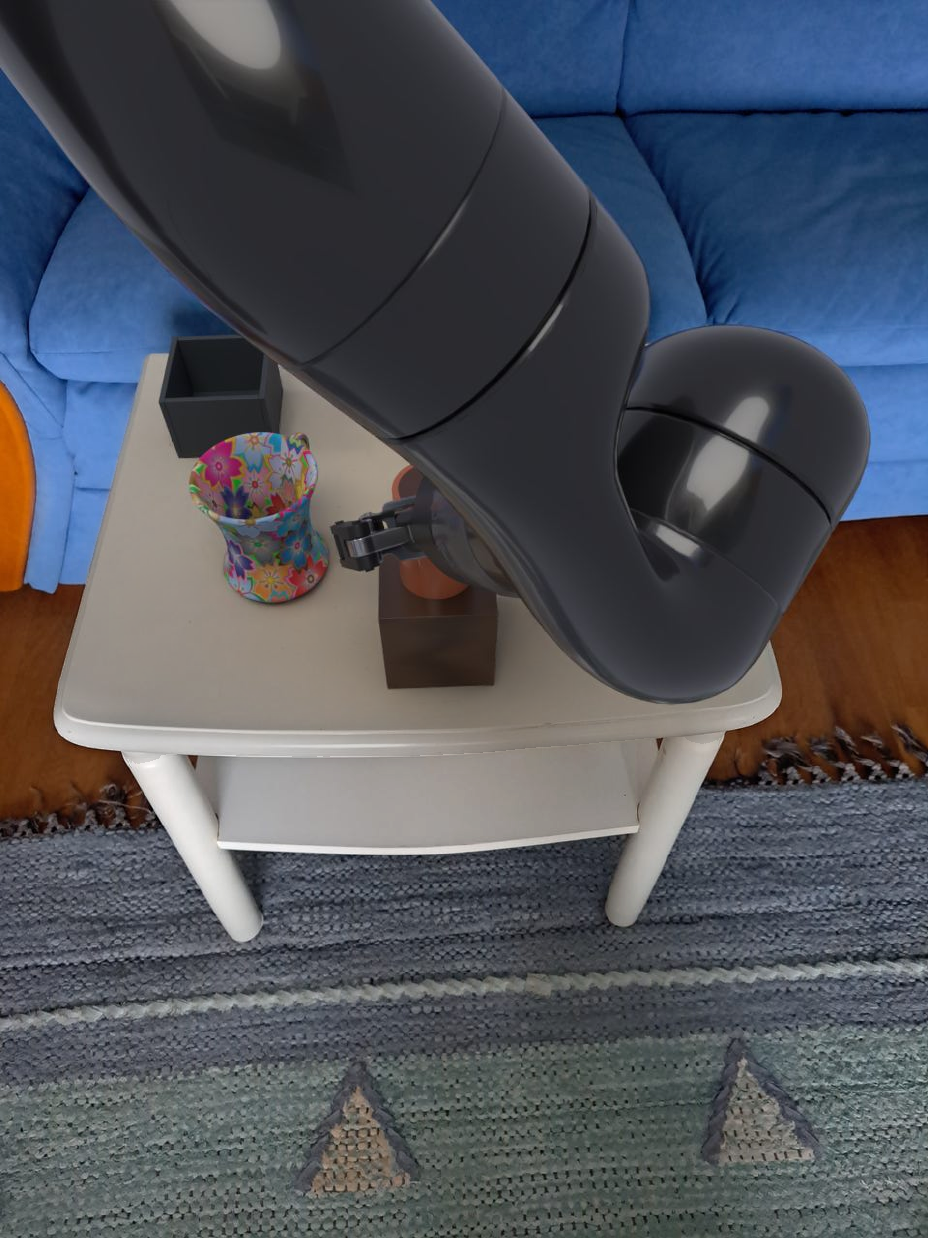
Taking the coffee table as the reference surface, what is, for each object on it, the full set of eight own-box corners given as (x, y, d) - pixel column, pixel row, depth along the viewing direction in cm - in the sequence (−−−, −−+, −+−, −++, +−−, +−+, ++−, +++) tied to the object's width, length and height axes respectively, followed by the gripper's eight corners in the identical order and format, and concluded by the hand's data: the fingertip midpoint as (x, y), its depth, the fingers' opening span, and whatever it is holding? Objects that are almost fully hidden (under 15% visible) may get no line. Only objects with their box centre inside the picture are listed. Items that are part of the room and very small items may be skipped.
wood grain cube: (387, 689, 65) (378, 618, 57) (387, 603, 69) (379, 528, 62) (494, 685, 65) (498, 614, 58) (487, 600, 70) (490, 524, 62)
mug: (302, 627, 68) (279, 537, 59) (199, 593, 70) (163, 501, 61) (367, 521, 75) (354, 426, 66) (271, 492, 77) (247, 397, 68)
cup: (414, 609, 58) (408, 528, 51) (388, 553, 61) (380, 470, 54) (485, 586, 59) (489, 504, 53) (458, 533, 62) (457, 449, 55)
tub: (178, 458, 79) (158, 401, 74) (190, 393, 84) (172, 336, 79) (277, 454, 79) (264, 397, 74) (283, 389, 85) (271, 332, 79)
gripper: (629, 397, 41) (519, 428, 57) (341, 474, 38) (308, 485, 54) (663, 549, 43) (547, 538, 58) (388, 636, 40) (343, 600, 55)
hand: (432, 513), depth 56 cm, fingers open, 8 cm apart
